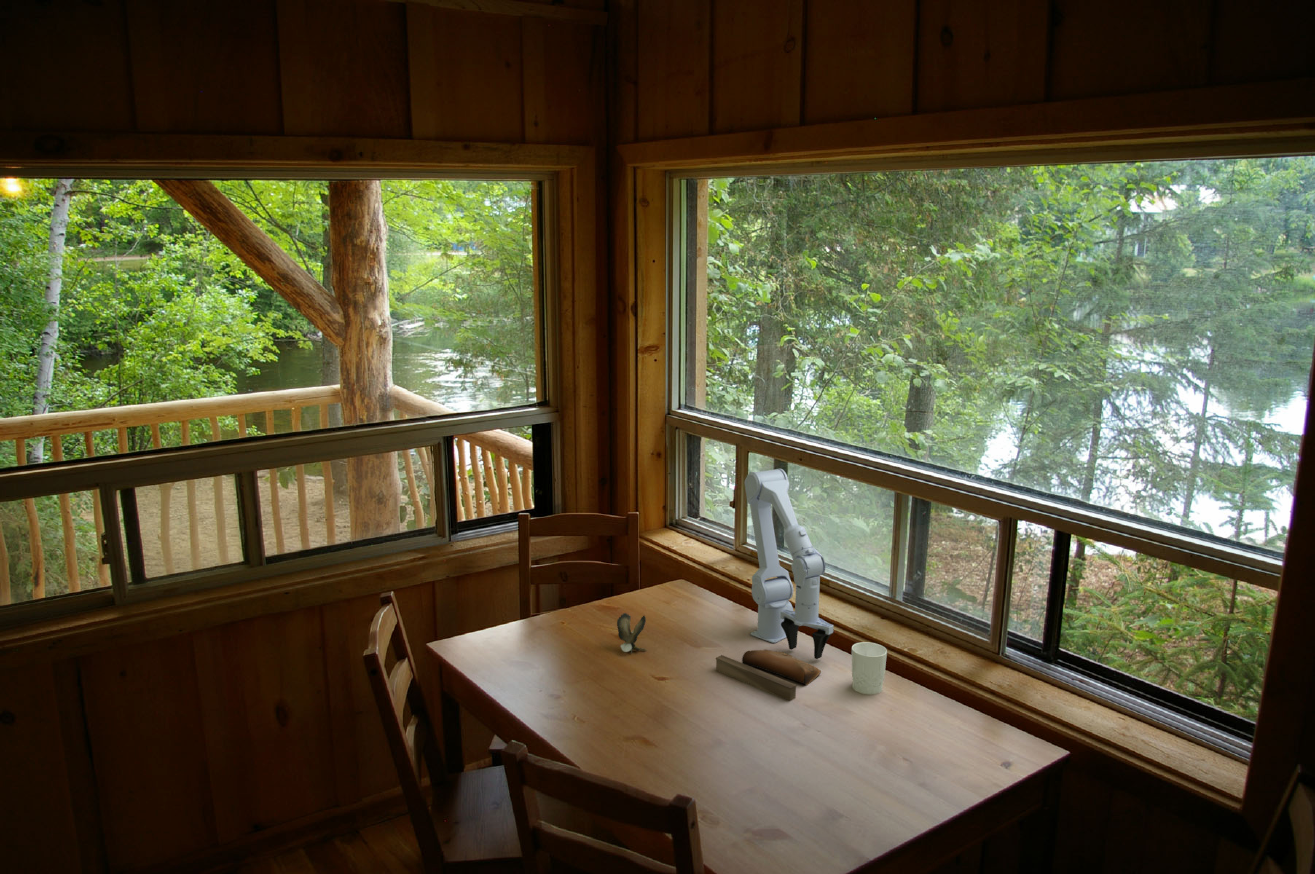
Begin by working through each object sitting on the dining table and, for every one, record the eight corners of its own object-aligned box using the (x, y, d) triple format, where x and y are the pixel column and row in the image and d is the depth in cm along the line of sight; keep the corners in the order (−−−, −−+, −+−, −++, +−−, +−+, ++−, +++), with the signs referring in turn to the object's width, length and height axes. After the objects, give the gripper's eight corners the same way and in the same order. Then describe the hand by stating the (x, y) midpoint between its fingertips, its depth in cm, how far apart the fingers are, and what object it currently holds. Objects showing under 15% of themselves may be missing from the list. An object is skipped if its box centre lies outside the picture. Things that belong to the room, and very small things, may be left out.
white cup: (845, 692, 204) (847, 652, 202) (855, 679, 211) (856, 639, 209) (880, 700, 200) (882, 659, 198) (888, 686, 207) (890, 646, 205)
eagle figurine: (647, 644, 229) (647, 611, 228) (646, 656, 222) (646, 622, 221) (617, 644, 230) (617, 611, 228) (615, 656, 223) (615, 622, 221)
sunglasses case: (823, 669, 212) (815, 654, 208) (811, 694, 209) (802, 679, 205) (760, 649, 223) (751, 634, 219) (747, 672, 220) (738, 658, 216)
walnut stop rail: (721, 667, 216) (721, 654, 215) (796, 698, 201) (796, 684, 200) (715, 670, 215) (715, 657, 214) (790, 702, 199) (790, 688, 199)
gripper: (773, 597, 221) (772, 648, 224) (822, 613, 211) (820, 666, 214) (790, 590, 226) (788, 640, 228) (839, 605, 216) (836, 657, 218)
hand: (805, 652), depth 221 cm, fingers open, 7 cm apart
